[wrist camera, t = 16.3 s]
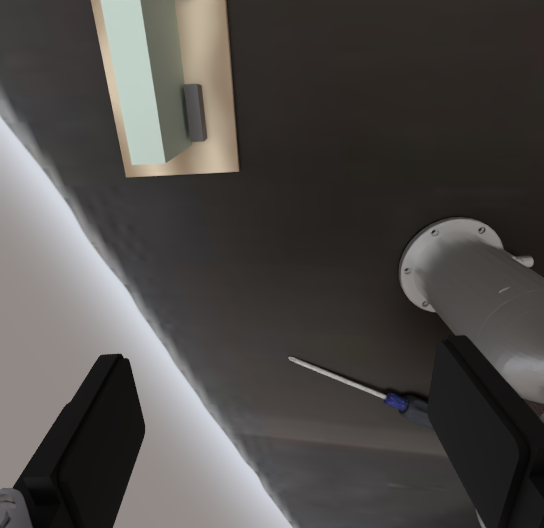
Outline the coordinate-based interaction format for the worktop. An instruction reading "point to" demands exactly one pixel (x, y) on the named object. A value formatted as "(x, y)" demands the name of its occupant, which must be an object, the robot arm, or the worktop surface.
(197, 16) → the hinge base
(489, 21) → the worktop surface
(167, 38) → the door
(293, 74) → the worktop surface
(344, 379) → the screwdriver
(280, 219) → the worktop surface
